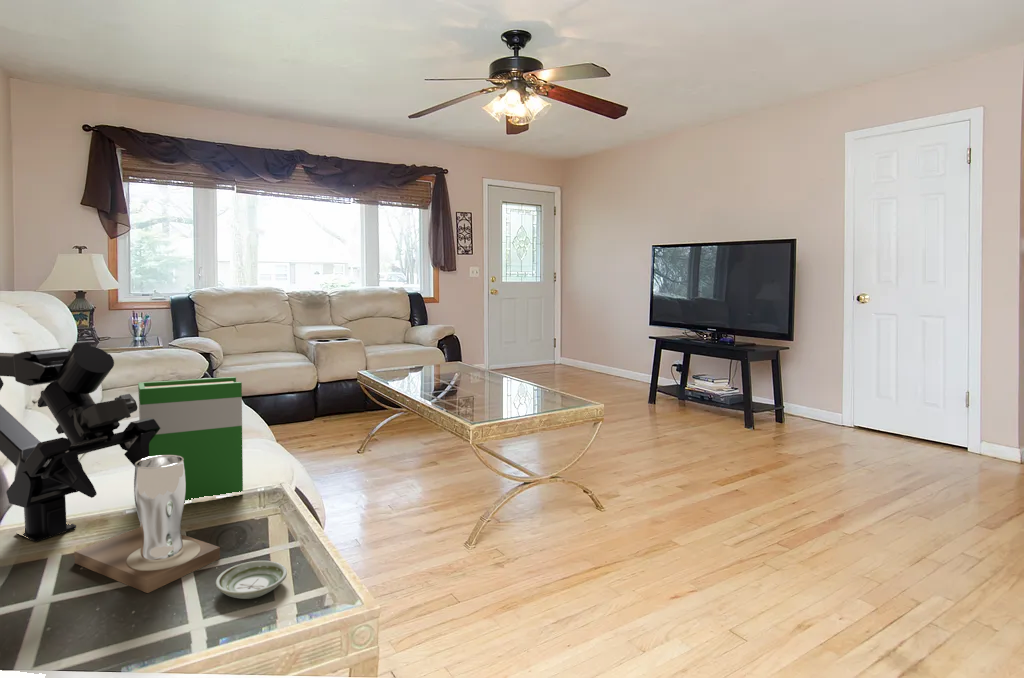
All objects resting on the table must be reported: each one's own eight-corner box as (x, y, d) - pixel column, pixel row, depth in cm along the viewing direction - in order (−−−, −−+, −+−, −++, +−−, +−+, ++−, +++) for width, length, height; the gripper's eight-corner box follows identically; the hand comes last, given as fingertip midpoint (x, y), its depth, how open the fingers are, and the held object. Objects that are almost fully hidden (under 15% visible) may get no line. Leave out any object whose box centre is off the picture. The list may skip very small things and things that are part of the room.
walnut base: (74, 563, 93) (74, 549, 93) (149, 534, 104) (149, 522, 104) (147, 593, 85) (147, 578, 85) (220, 558, 96) (219, 545, 96)
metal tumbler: (148, 568, 88) (145, 471, 86) (127, 555, 92) (124, 461, 90) (195, 552, 93) (194, 460, 92) (174, 539, 97) (172, 451, 96)
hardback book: (236, 484, 129) (235, 376, 126) (242, 495, 123) (241, 382, 120) (141, 499, 119) (138, 382, 117) (143, 512, 113) (139, 389, 110)
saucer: (292, 573, 93) (293, 558, 93) (278, 607, 84) (278, 591, 83) (228, 575, 91) (227, 560, 91) (205, 610, 82) (205, 594, 82)
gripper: (32, 390, 86) (85, 475, 83) (151, 372, 104) (198, 442, 101) (2, 435, 90) (52, 518, 87) (122, 411, 107) (166, 479, 104)
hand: (123, 486), depth 95 cm, fingers open, 9 cm apart
